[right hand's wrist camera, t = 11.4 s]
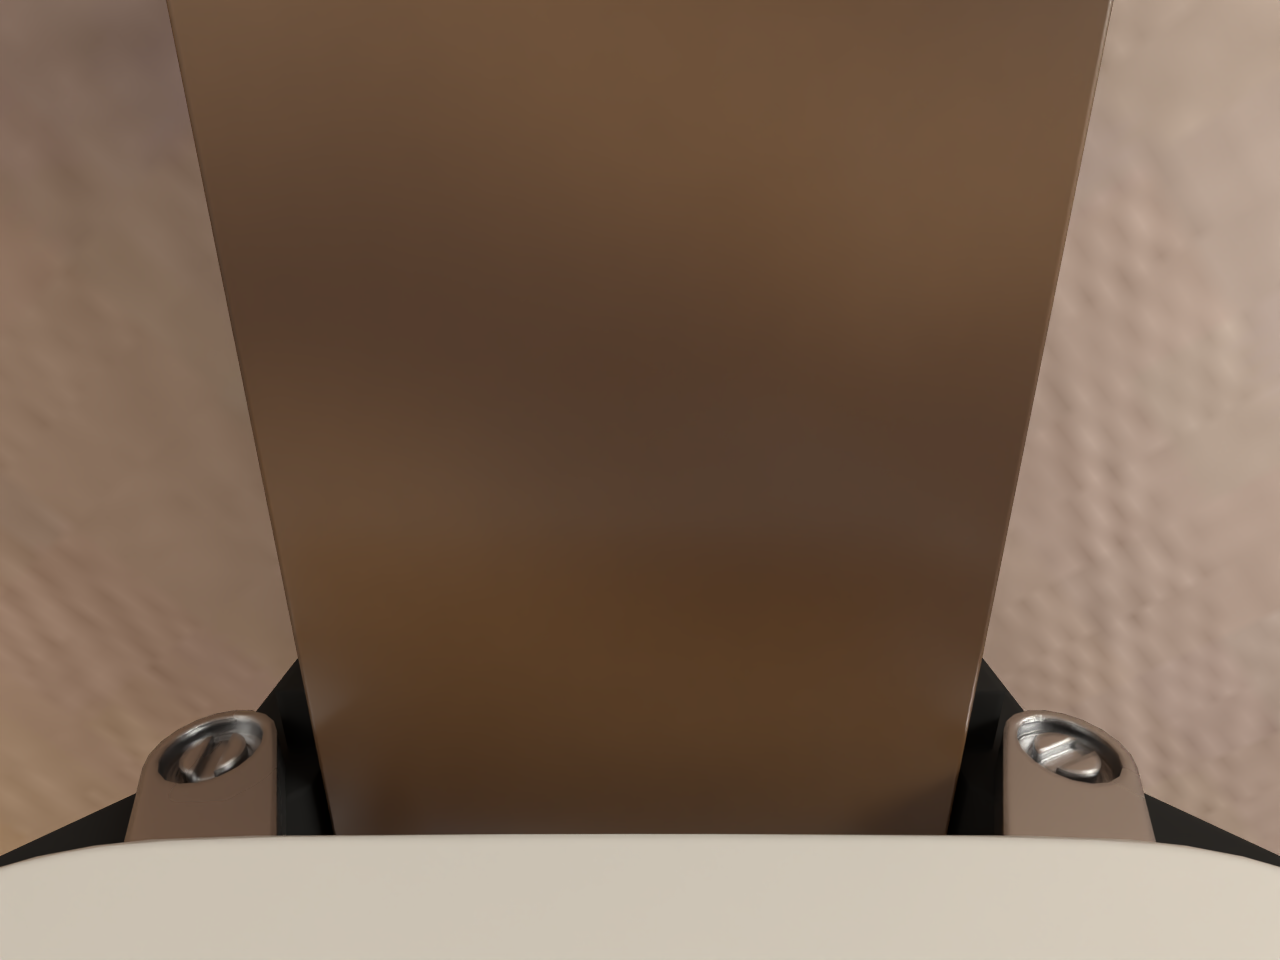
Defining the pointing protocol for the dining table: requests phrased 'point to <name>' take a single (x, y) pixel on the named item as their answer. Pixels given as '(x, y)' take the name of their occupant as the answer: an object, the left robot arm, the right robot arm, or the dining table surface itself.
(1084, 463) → the dining table surface
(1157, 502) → the dining table surface
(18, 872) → the right robot arm
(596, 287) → the beam
